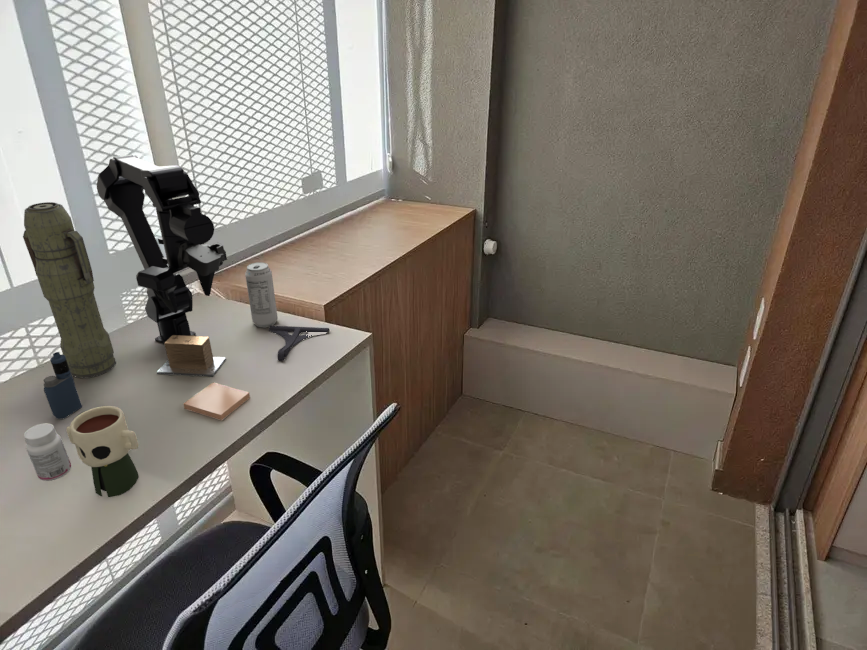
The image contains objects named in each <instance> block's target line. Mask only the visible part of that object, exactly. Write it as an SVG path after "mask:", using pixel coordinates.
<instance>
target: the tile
mask: <svg viewBox="0 0 867 650" xmlns="http://www.w3.org/2000/svg"><path fill="white" fill-rule="evenodd" d="M249 399H251V395H250V392H249V391H246V390H242V389H238V388H234V387H231V386H229V385H228V386H227V385H224V384H222V383H221V384H220V383H217V382H211V383H210V384H209V385H207V386H206V387H204V388H203V389H201V390H200V391H198V392H197V393H196V394H194V395H193V396H192V397H190V398H189V399H187V400H186V401H185V402H183V408H184V410H188V411H190V412H194V413H197V414H200V415H203V416H206V417H208V418H209V417H210V418H213V419H216V420H219V421H223V420H224V419H226V418H227V417H228V416H229V415H231V414H232V413H233V412H234V411H235V410H237V409H238V408H239V407H241V406H242V405H243V404H244V403H245V402H247V401H248V400H249Z"/></svg>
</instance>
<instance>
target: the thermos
mask: <svg viewBox="0 0 867 650" xmlns="http://www.w3.org/2000/svg"><path fill="white" fill-rule="evenodd" d="M23 215H24V216H23V227H24V231H23V234H22V238H23V242H24V244H25V246H26V249H27V252H28V254H29V257H30V261H31V262H32V266H33V269H34V271H35V276H36V277H37V280H38V283H39V286H40V288H41V289H40V290H41V293H42V295H43V297H44V299H46V300H47V302H48V305H49V306H50V307H49V308H50V310H51V313H52V316H53V319H54V322H55V325H56V328H57V330H58V334H59V336H60V344H59V345H60V350H61V353H62V355H65V357H66V360H67V363H68V366H69V369H70V372H71V374H72V375H73V376H72V377H74V376H76V377H75V378H77V377H83V378H82V379H85V377H88V378H94V377H97V375H98V376H100V374H101V375H103V374H106V373H108V372H109V371H112V370H113V368H114V367H115V366H116V364H117V361H116V358H115V355H114V347H113V344H112V341H111V337H110V335H109V332H108V331H107V330H106V329H105V328H104V327H105V326H104V324H103V321H102V318H101V317H102V316H101V313H100V310H99V306H98V304H97V301H96V297H95V293H94V292H95V289H96V288H95V283H94V282H95V280H94V276H93V275H94V274H93V269H92V265H91V262H90V258H89V255H88V252H87V249H86V248H87V247H86V245H85V241H84V238H83V236H82V235H81V234H80V233H79V232H78V231H77V230H75V227H74V224H73V220H72V217H71V216H70V213H68V211H67V210H66V208H65V207H64V206H63V204H61V203H58V202H51V201H50V202H48V201H46V202H38V203H33V204H31V205H29V206H28V207H26V208H25V209H24V214H23ZM93 376H94V377H93Z"/></svg>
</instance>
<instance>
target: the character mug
mask: <svg viewBox="0 0 867 650" xmlns="http://www.w3.org/2000/svg"><path fill="white" fill-rule="evenodd" d="M66 434H67V436H68V439H69V442H70V444H72V445H75V449H76V453H77V455H78V458H79V460H81V462H82V464H85V465H86V466H88V467H90V468H91V475H92V482H93V486H94V491H95V494H97V495H98V496H100V497H103V493H102V491H103V492H105V493H106V496H107V498H114V497H118V496H122V495H123V494H125V493H127V492H129V491H131V489H132V488H133V487H134V486H135V484H137V482H138V480H139V478H140V475H139V472H138V470H137V468H136V467H137V466H135V463H134V461H133V459H132V458H131V456H130V453H129V452H130V450H133V451H135V450H137V449H139V445H140V444H139V441H138V437H137V435H136V432H135V431H132V430H129V428H128V425H127V421H126V418H125V413H124V411H123V410H122V409H121V408H120V407H117V406H114V405H102V406H98V407H92V408H91V409H87V410H86V411H83V412H82V413H79V415H77V416H75V417H74V418H73V419H72V421H71V422H70V425H69V426H66Z"/></svg>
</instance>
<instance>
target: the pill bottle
mask: <svg viewBox="0 0 867 650" xmlns="http://www.w3.org/2000/svg"><path fill="white" fill-rule="evenodd" d="M23 437H24V440H25V443H26V446H25V449H26V452H27V454H28V457H29V460H30V461H31V464H32V466H33V469H34V471H35V473H36V475H37V478H38V479H39V480H40V481H43V482H50V481H51V482H53V481H56V480H58V479H61V478H63V477H64V476H65V475H67V474H68V473H69V472H70V471H71V469H72V463H71V459H70V458H69V454H68V453H67V450H66V448H65V445H64V441H63V439H62V437H61V435H60V434H58V433H57V431H56V428H55V427H54V425H53V424H52V423H45V422H43V423H38V424H35V425H33V426H31V427H30V428H28V429H27V430H26V431H25V432H24V434H23Z"/></svg>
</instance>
